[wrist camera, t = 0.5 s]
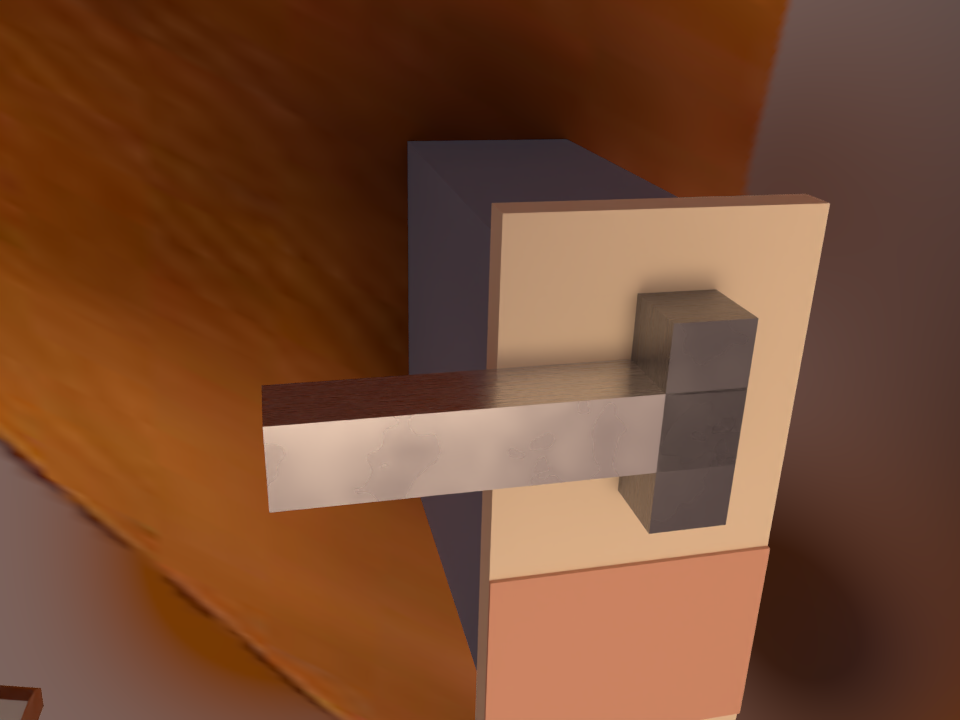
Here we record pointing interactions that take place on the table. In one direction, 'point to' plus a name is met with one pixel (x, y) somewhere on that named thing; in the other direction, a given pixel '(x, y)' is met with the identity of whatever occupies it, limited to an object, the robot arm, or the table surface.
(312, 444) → the steel T-bar
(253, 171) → the table surface
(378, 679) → the table surface
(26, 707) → the robot arm
